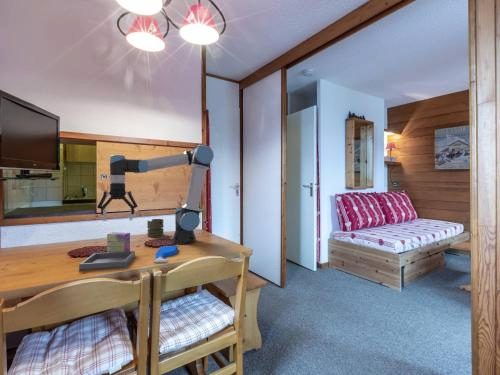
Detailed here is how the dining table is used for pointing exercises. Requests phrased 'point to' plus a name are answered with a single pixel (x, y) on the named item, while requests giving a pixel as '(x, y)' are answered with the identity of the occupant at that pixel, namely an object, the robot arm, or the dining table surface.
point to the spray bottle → (165, 253)
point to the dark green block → (155, 228)
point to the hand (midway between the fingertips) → (118, 220)
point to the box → (118, 242)
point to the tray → (107, 260)
